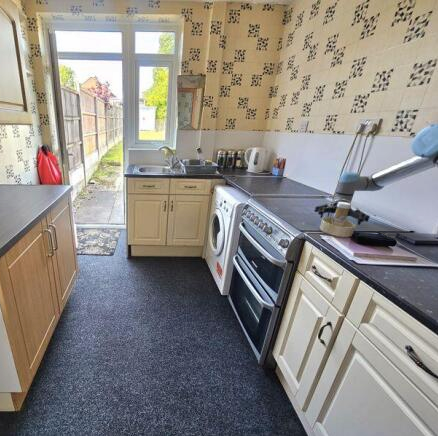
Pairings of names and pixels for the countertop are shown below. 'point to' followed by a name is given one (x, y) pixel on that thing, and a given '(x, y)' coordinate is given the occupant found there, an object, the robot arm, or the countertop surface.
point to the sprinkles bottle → (341, 213)
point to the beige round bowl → (337, 228)
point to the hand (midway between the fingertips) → (340, 218)
